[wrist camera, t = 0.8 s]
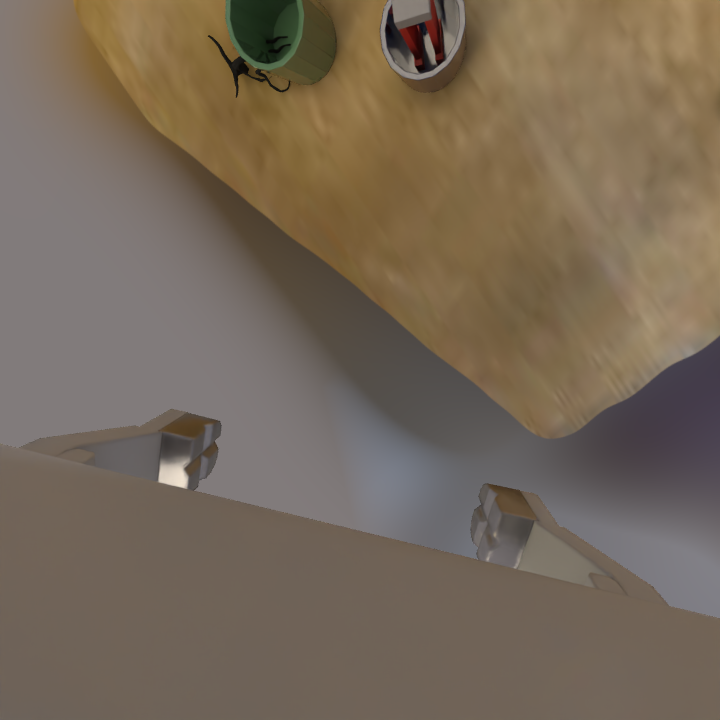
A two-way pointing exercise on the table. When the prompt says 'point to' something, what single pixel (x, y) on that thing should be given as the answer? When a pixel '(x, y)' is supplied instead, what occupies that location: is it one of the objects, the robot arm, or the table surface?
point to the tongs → (413, 8)
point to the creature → (240, 66)
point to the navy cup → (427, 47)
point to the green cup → (283, 18)
